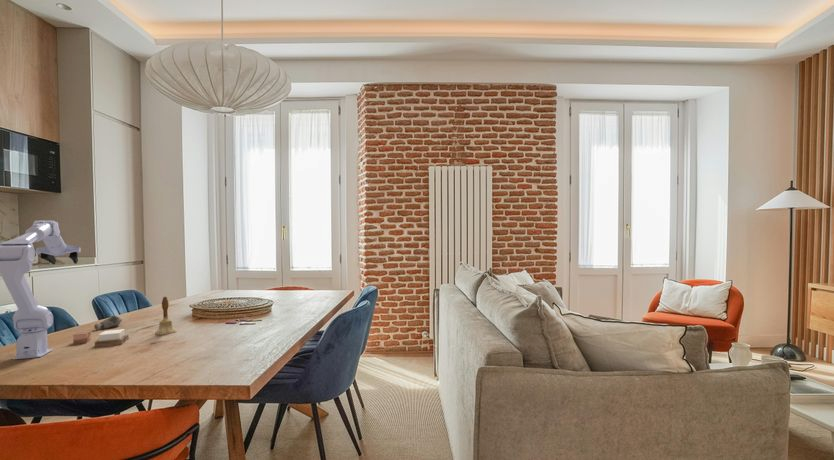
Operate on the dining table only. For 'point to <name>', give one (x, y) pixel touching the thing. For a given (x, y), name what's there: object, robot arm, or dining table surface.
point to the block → (81, 337)
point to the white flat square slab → (111, 335)
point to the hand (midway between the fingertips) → (65, 262)
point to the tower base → (112, 341)
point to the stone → (108, 323)
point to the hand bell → (165, 321)
